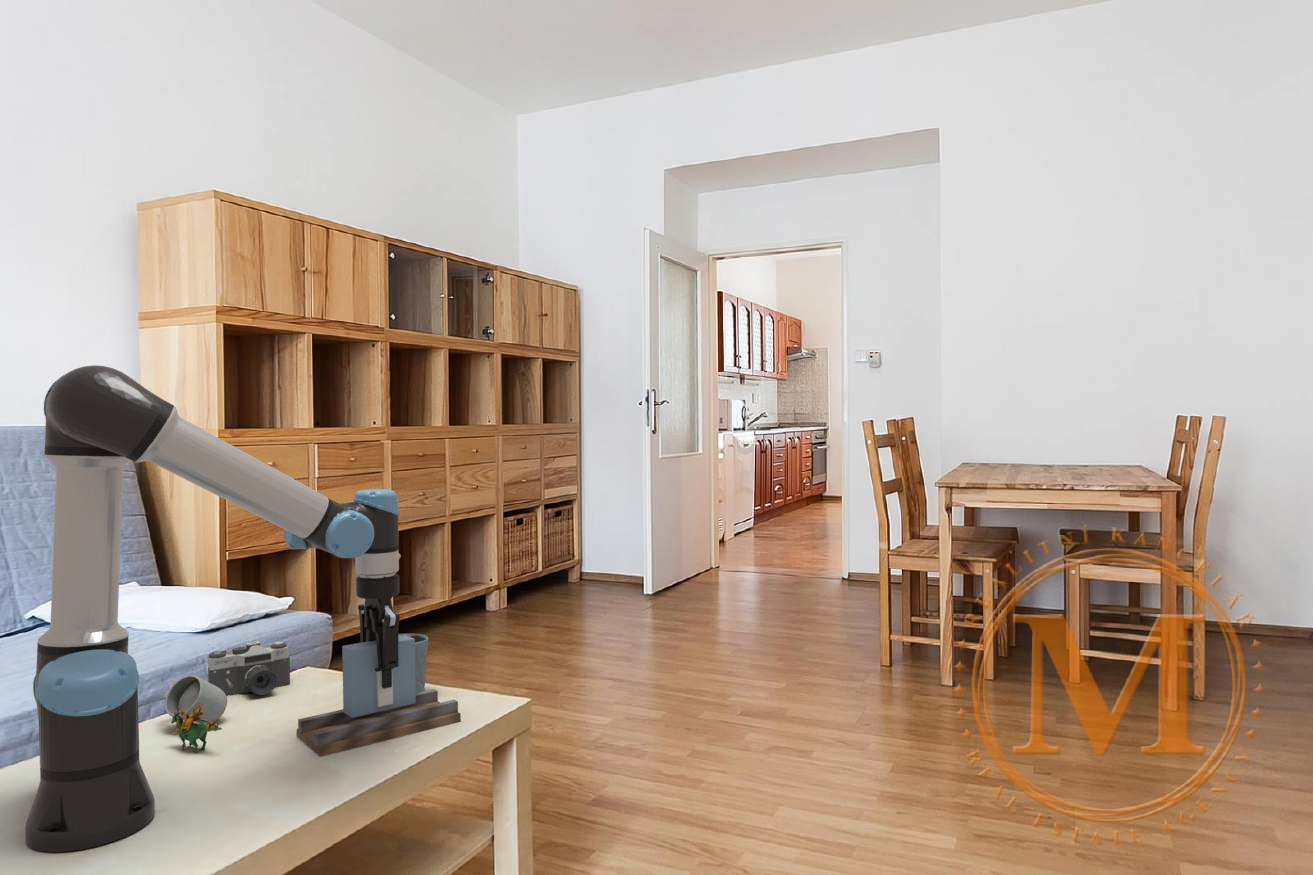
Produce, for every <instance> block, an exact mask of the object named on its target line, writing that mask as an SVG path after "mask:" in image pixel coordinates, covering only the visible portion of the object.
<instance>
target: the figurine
mask: <svg viewBox="0 0 1313 875" xmlns="http://www.w3.org/2000/svg"><path fill="white" fill-rule="evenodd" d="M198 707H199V712H195V710H196V708H198ZM201 709H202V706H201V705H197V706H195V707H194V709H193V714H192V715H191V716H190V717H189V713H187V714H185V716H186V719H185V720H183V718H182V717H181V716H183V714H184V713H185V712H184V711H183V709H181V710H180V711H179V712H178V711H175V712H174V716H173V717H172V716H171V718H172V720H171V721H170V722H171V724H175V723H176V724H175V725H176V727H175V731H176V732H174V733H172V734H171V735H173V736H176V735H178V738H179V739H180V741H181V742H182V744H181V749H182V750H181V751H184V750H185V749H186V747H187V746H186V745H187V744H186V742H185V741H188V742H189V744H188V748H191V747H192V746H193V747H194V750H193V752H194V753H193V754H198V753H197V752H198V750H200V751H206V745H207V740H206V738H207V736H208V732H217V731H221V730H222V729H223V728H222V727H219V725H218V724H217V723H213V722H211V721H209V720H205V719H201V718H199V716H200V715H203V713H204V712H200V711H201ZM176 712H177V713H176ZM175 713H176V714H175ZM179 714H181V716H179ZM196 714H197V715H196ZM202 721H203V722H202ZM207 721H209V722H208V724H206V723H204V722H207ZM213 724H214V725H213ZM197 740H200V741H201V742H202V746H201V748H198V747H199V745H198V743H197ZM195 752H196V753H195Z"/></svg>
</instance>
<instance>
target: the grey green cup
mask: <svg viewBox="0 0 1313 875" xmlns="http://www.w3.org/2000/svg"><path fill="white" fill-rule="evenodd" d="M403 635H407V636H409V637H411V638H414V639H415V689H416V693H419V692H424V691H426V690H425V686H426V670H427V657H428V647H429V637H428V635H425V634H421V633H398V636H403Z"/></svg>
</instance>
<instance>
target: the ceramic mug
mask: <svg viewBox="0 0 1313 875" xmlns="http://www.w3.org/2000/svg"><path fill="white" fill-rule="evenodd" d="M227 697H228V696H226V694H225V693H224V692H223V691H222V690H221V689H220V688H218V687H217V686H215V685H213V684H211V683H209V682H208V680H205V679H203V678H201V677H200V676H198V675H195V674H192V675H191V674H190V675H186V676H184V677H181V678H179V680H177V681H176V682H174V684H173V685H172V686H171V688H170V689H167V690H166V691H165V692H164V694H163V696H162V699H163V700H165V701H164V708H165V712H166V713H167V714H168V716H170V717H171V718H172V717H173V716H174V712H175V711H178V712H179V711H180V710H181V709H183V711H184V712H185V713H184V714H183V716H181V714H179V716H181V717H182V718H183V721H184V720H185V719H186V716H185V714H187V713H189V717H190V716H191V715H192V714H193V709H194V707H195V706H197V705H201V706H202V709H201V711H200V712H204V713H203V715H200V716H199V718H201V719H205V720H209V721H211V722H213V724H215V723H216V722H217V721H218V720H219V719H220V718H221V717H222V715H223V714H224V712H225V710H226V709H227V704H228V698H227ZM195 712H199V707H198V708H196V710H195ZM176 713H177V712H176ZM176 713H175V714H176ZM196 715H197V714H196ZM209 721H207V722H204V723H206V724H208V722H209ZM202 722H203V721H202Z"/></svg>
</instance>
